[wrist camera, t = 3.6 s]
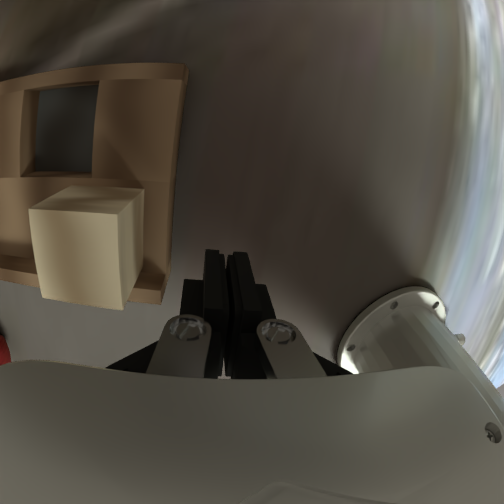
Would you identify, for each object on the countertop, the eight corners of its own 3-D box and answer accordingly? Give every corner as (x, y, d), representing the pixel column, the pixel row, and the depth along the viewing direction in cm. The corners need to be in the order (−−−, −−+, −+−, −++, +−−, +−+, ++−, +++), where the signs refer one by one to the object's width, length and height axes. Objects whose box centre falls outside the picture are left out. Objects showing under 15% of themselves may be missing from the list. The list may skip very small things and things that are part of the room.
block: (144, 189, 16) (117, 214, 12) (143, 265, 18) (122, 310, 14) (71, 185, 15) (28, 209, 11) (76, 258, 17) (42, 297, 13)
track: (189, 71, 16) (177, 51, 11) (170, 270, 21) (158, 314, 16) (-50, 103, 12) (-89, 109, 7) (-43, 243, 18) (-75, 267, 13)
